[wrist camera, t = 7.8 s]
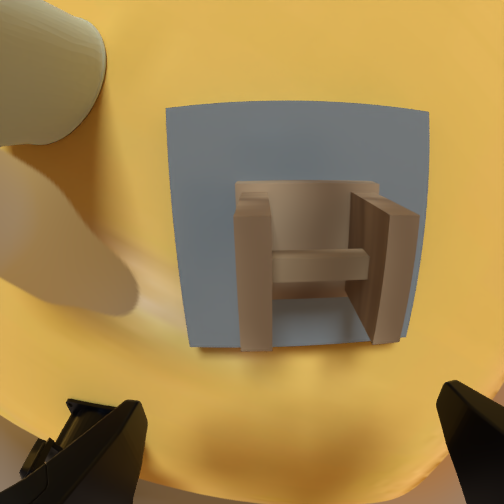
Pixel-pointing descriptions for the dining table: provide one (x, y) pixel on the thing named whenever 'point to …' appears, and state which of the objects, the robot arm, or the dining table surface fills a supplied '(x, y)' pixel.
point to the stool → (322, 253)
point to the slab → (281, 168)
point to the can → (46, 71)
